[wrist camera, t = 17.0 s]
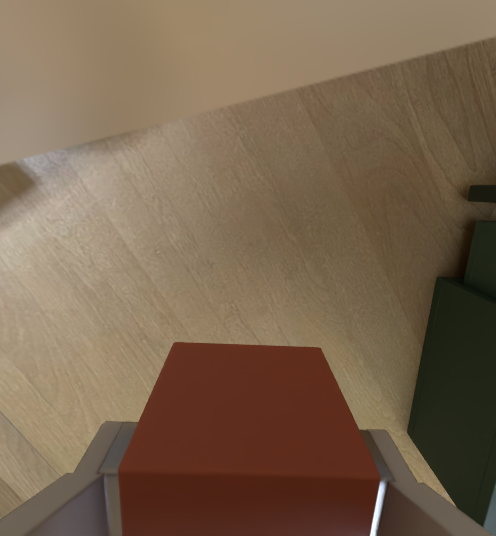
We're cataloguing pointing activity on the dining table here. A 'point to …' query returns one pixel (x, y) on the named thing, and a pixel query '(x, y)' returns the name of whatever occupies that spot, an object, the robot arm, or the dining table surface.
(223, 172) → the dining table surface
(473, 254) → the drawer
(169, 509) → the block
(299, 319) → the dining table surface
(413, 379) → the dining table surface
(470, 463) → the cabinet
